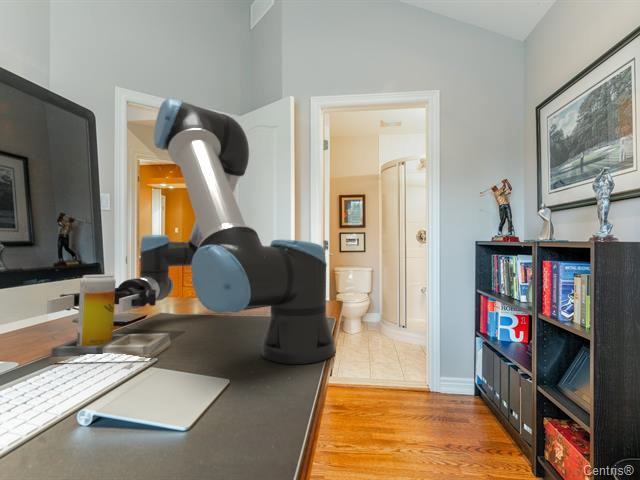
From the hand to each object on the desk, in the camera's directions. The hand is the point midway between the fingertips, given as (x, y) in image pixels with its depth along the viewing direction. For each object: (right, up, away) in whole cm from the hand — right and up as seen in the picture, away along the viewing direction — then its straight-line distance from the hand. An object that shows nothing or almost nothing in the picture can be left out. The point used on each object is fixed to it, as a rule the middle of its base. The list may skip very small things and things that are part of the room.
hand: (85, 306), depth 64 cm
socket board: (+4, -11, +3) cm, 12 cm away
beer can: (0, -10, +3) cm, 10 cm away
